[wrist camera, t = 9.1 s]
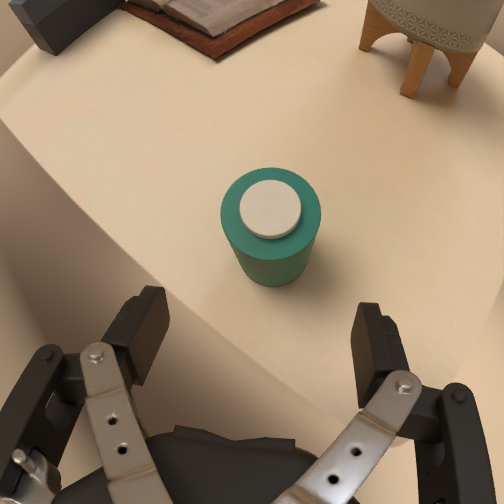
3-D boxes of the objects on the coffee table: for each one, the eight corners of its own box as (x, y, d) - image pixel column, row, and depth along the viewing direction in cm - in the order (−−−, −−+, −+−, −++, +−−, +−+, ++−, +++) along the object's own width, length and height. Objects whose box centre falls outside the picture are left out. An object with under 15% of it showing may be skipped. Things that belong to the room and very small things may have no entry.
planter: (455, 57, 30) (498, -41, 13) (458, 120, 28) (528, 0, 10) (367, 22, 33) (385, -87, 15) (349, 76, 30) (374, -69, 13)
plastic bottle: (291, 297, 24) (298, 274, 16) (227, 269, 25) (200, 232, 17) (318, 235, 25) (336, 183, 17) (256, 210, 26) (245, 149, 18)
